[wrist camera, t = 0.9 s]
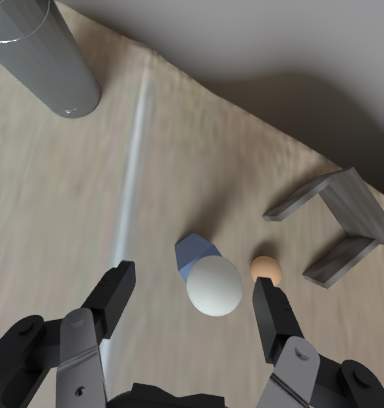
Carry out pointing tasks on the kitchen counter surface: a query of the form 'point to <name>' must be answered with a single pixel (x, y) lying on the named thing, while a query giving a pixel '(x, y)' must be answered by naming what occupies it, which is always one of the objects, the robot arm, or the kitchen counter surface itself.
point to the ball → (266, 269)
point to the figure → (208, 276)
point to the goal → (347, 217)
